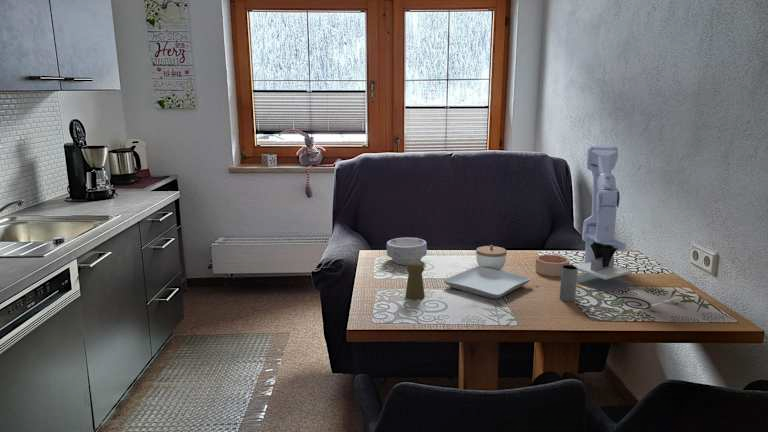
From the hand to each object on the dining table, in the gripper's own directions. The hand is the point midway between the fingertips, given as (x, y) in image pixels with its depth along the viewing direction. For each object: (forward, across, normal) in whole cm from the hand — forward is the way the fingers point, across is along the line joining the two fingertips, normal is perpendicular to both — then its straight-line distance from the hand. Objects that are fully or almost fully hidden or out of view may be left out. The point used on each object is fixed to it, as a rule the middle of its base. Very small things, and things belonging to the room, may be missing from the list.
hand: (602, 265), depth 181 cm
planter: (+6, +5, -22) cm, 23 cm away
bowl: (+6, -16, -6) cm, 18 cm away
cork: (+6, -21, -61) cm, 65 cm away
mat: (+6, 0, 0) cm, 6 cm away
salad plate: (+6, -16, -36) cm, 40 cm away
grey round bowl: (+6, -54, -43) cm, 69 cm away
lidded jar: (+6, -29, -23) cm, 37 cm away
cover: (+2, 0, 0) cm, 2 cm away
